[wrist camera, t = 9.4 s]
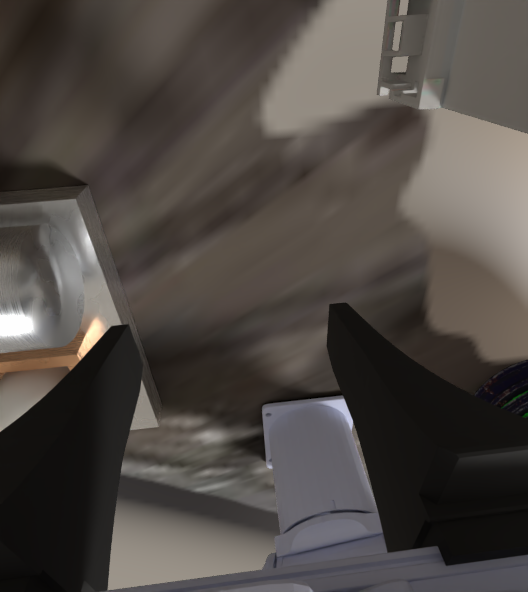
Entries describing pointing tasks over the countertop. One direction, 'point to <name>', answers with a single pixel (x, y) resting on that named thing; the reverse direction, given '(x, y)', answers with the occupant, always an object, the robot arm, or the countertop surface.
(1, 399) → the white bottle
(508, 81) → the circuit breaker
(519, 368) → the storage jar
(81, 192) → the white rectangular base assembly
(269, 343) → the countertop surface
